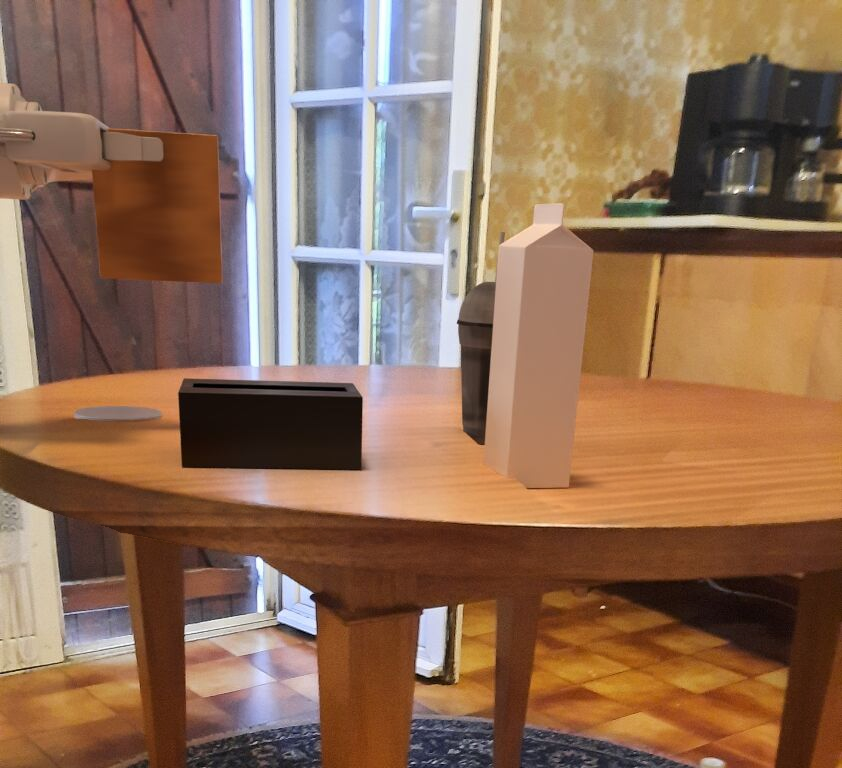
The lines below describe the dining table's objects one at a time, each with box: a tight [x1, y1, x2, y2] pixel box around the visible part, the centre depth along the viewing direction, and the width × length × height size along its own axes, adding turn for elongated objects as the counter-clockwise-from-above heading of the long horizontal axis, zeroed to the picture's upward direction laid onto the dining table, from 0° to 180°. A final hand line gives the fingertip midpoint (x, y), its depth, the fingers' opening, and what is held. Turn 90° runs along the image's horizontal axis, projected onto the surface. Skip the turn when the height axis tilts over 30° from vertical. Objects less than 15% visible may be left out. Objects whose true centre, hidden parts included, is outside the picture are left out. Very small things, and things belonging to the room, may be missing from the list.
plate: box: [73, 405, 164, 422], centre depth 112 cm, size 9×9×1 cm
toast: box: [92, 127, 224, 284], centre depth 97 cm, size 11×2×12 cm, turn 97°
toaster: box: [177, 377, 364, 472], centre depth 93 cm, size 15×9×7 cm, turn 98°
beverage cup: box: [456, 231, 506, 446], centre depth 109 cm, size 7×7×20 cm
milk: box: [482, 202, 594, 489], centre depth 90 cm, size 6×6×22 cm
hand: (165, 151), depth 95 cm, fingers closed on toast, 1 cm apart
